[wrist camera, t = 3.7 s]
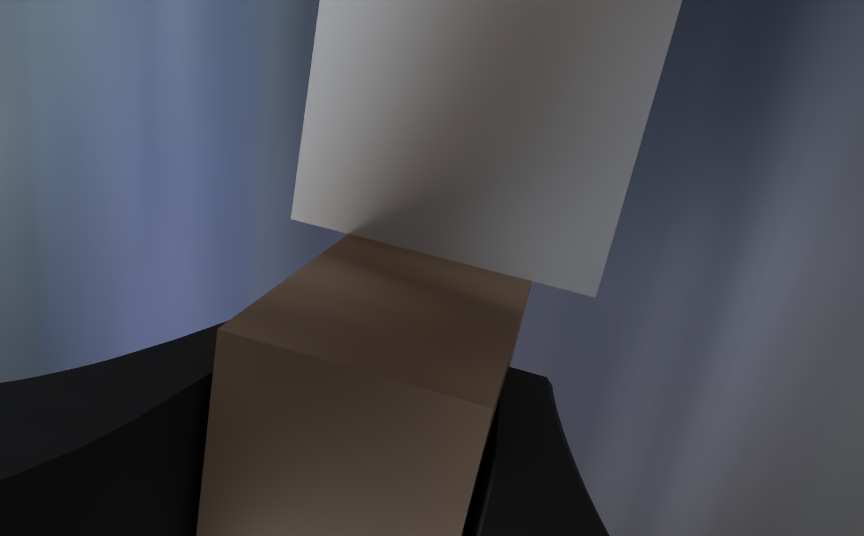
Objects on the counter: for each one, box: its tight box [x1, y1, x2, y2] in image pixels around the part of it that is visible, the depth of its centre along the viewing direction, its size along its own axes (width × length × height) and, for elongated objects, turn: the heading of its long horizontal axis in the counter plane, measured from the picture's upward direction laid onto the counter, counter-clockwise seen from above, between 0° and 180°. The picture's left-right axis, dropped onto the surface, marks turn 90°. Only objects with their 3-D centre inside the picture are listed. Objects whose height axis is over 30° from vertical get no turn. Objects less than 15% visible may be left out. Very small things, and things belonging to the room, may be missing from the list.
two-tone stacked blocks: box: [196, 0, 682, 536], centre depth 9 cm, size 5×12×5 cm, turn 170°
